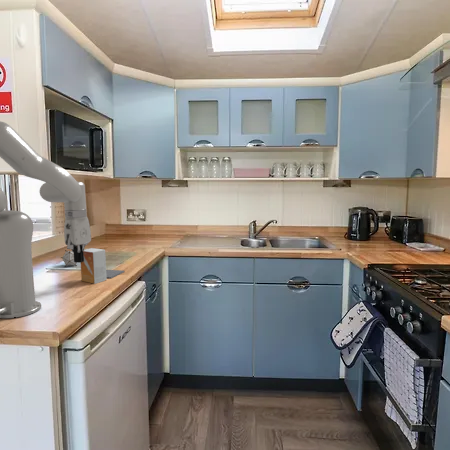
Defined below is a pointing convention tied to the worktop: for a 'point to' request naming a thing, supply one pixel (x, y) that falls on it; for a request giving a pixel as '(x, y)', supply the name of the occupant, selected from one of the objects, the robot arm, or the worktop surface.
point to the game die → (69, 258)
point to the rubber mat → (113, 273)
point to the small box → (93, 266)
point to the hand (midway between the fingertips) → (79, 261)
